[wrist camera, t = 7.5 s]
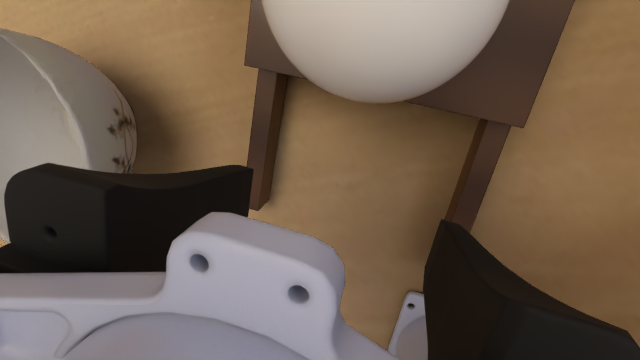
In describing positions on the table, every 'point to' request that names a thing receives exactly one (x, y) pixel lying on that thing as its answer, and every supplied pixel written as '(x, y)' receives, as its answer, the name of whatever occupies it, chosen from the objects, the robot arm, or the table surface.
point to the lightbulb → (382, 42)
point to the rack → (429, 95)
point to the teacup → (58, 113)
